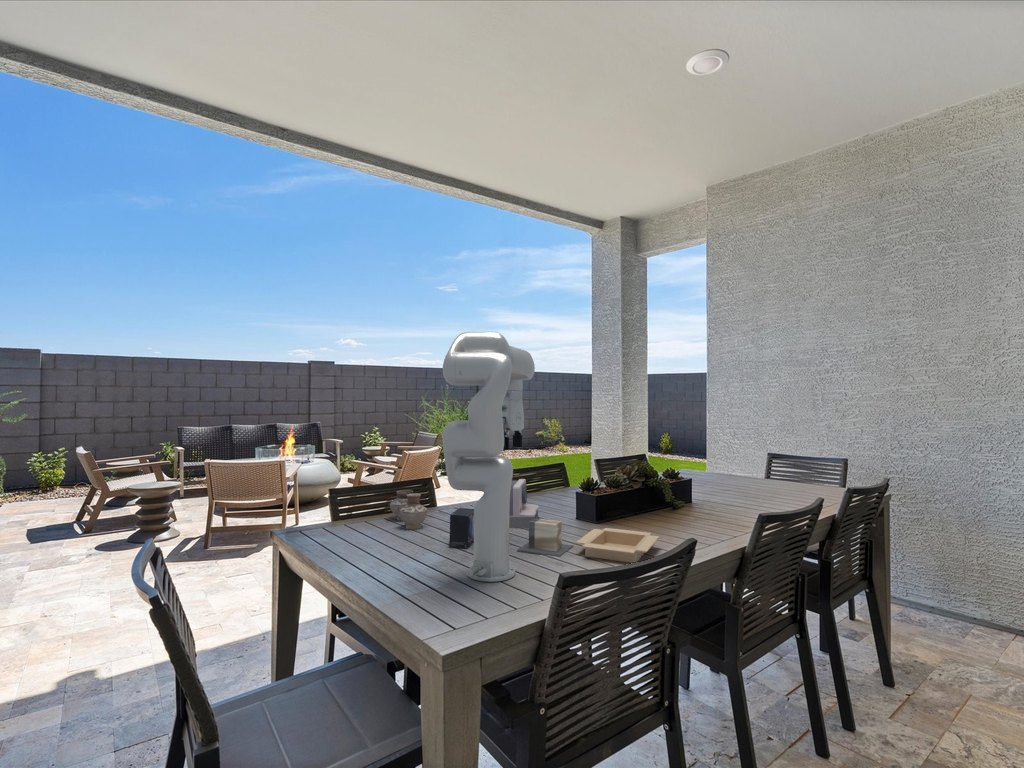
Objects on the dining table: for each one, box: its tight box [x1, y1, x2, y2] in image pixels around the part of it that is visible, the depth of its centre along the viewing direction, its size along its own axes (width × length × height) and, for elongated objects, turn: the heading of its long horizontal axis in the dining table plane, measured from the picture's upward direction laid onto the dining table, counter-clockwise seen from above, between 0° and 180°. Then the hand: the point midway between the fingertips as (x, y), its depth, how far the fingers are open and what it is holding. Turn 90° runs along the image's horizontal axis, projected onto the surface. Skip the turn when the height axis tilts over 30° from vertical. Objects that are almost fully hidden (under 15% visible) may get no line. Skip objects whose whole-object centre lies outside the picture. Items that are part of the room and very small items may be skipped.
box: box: [528, 518, 563, 551], centre depth 166 cm, size 5×9×8 cm, turn 64°
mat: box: [516, 542, 575, 558], centre depth 166 cm, size 12×14×1 cm
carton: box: [575, 527, 660, 564], centre depth 163 cm, size 24×21×4 cm
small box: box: [448, 507, 474, 549], centre depth 172 cm, size 11×6×10 cm, turn 168°
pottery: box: [389, 489, 428, 530], centre depth 200 cm, size 11×25×12 cm, turn 24°
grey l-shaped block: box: [509, 478, 540, 529], centre depth 203 cm, size 21×21×15 cm
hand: (511, 448), depth 177 cm, fingers open, 9 cm apart
